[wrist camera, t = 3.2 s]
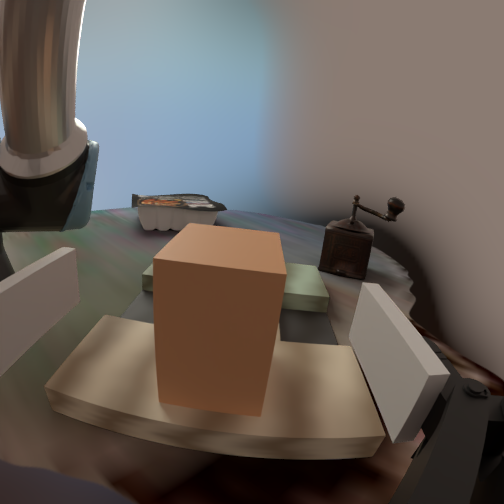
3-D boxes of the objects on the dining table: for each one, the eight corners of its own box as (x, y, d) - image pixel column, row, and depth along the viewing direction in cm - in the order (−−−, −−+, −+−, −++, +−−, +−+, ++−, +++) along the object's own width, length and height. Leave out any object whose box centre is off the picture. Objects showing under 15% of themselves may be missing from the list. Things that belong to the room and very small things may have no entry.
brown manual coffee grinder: (315, 271, 65) (330, 184, 59) (324, 257, 75) (336, 183, 69) (387, 287, 60) (407, 200, 54) (386, 271, 70) (402, 196, 64)
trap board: (52, 410, 21) (43, 386, 20) (166, 263, 59) (167, 248, 58) (372, 456, 21) (385, 435, 20) (313, 280, 59) (315, 266, 58)
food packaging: (131, 204, 74) (132, 192, 94) (131, 233, 76) (131, 215, 96) (227, 207, 83) (207, 194, 103) (224, 234, 85) (205, 216, 105)
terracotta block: (158, 401, 22) (153, 257, 18) (184, 336, 31) (189, 222, 28) (260, 416, 22) (286, 274, 18) (261, 346, 31) (278, 233, 28)
